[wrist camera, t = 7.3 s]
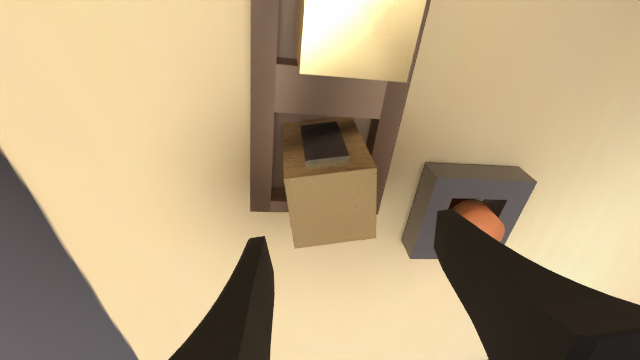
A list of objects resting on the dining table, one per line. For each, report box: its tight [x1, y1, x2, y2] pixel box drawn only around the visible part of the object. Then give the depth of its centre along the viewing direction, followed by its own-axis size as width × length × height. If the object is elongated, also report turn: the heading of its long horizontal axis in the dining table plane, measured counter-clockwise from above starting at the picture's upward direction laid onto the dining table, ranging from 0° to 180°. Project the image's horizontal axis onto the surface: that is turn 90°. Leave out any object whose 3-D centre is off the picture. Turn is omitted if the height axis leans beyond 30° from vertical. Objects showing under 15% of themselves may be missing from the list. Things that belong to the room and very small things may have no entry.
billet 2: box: [282, 117, 377, 248], centre depth 18 cm, size 4×4×6 cm
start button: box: [452, 200, 505, 242], centre depth 23 cm, size 3×3×2 cm
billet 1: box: [293, 0, 427, 83], centre depth 14 cm, size 4×4×6 cm
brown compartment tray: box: [250, 0, 431, 214], centre depth 18 cm, size 8×15×2 cm, turn 174°
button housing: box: [402, 162, 537, 259], centre depth 24 cm, size 7×7×2 cm
